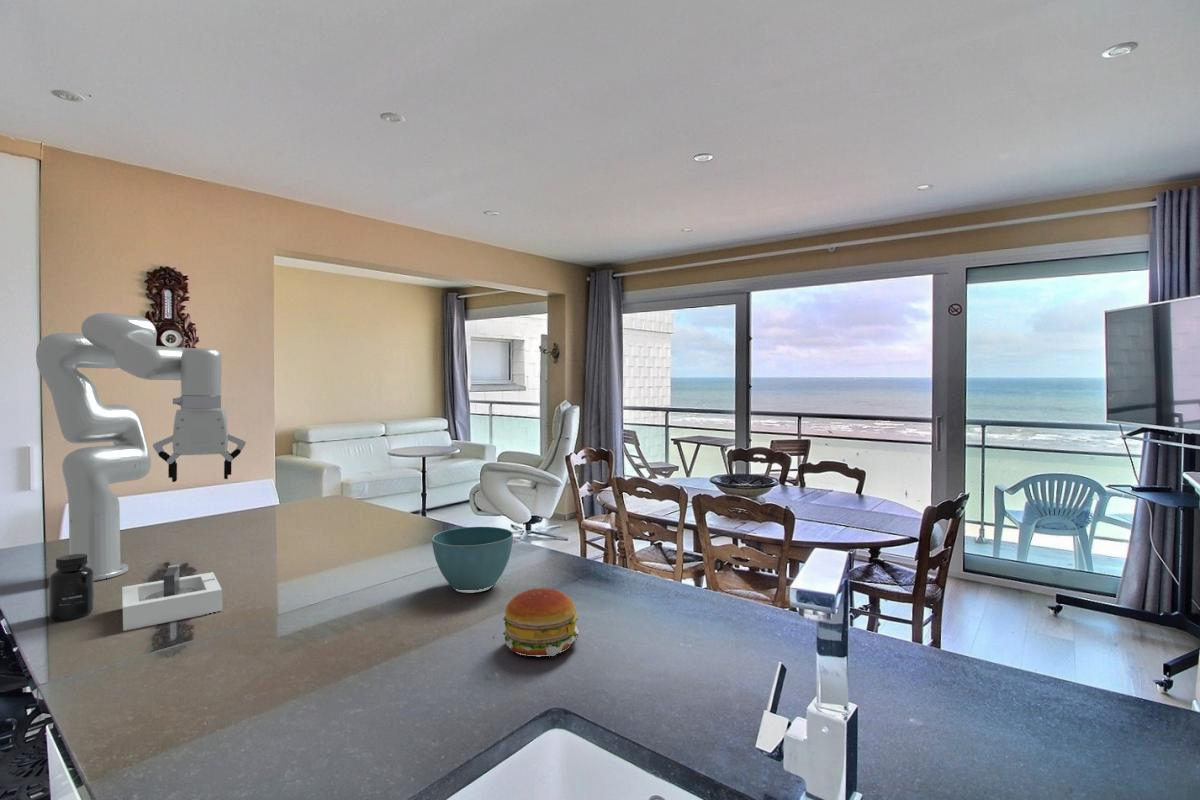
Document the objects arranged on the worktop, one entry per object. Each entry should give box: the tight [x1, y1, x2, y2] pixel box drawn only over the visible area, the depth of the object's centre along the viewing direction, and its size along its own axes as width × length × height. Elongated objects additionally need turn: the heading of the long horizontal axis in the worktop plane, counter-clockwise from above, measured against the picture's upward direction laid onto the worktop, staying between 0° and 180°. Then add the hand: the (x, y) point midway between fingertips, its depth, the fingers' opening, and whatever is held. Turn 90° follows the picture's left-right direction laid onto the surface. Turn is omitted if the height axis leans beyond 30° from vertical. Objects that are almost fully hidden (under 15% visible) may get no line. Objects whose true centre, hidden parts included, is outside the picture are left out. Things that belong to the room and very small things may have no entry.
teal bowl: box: [431, 526, 514, 590], centre depth 137 cm, size 18×18×12 cm
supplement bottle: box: [48, 554, 95, 622], centre depth 121 cm, size 7×7×12 cm
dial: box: [145, 564, 198, 600], centre depth 124 cm, size 9×9×7 cm
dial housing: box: [121, 571, 223, 632], centre depth 124 cm, size 15×16×5 cm
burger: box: [502, 587, 580, 657], centre depth 106 cm, size 13×14×10 cm
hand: (200, 479), depth 134 cm, fingers open, 9 cm apart
